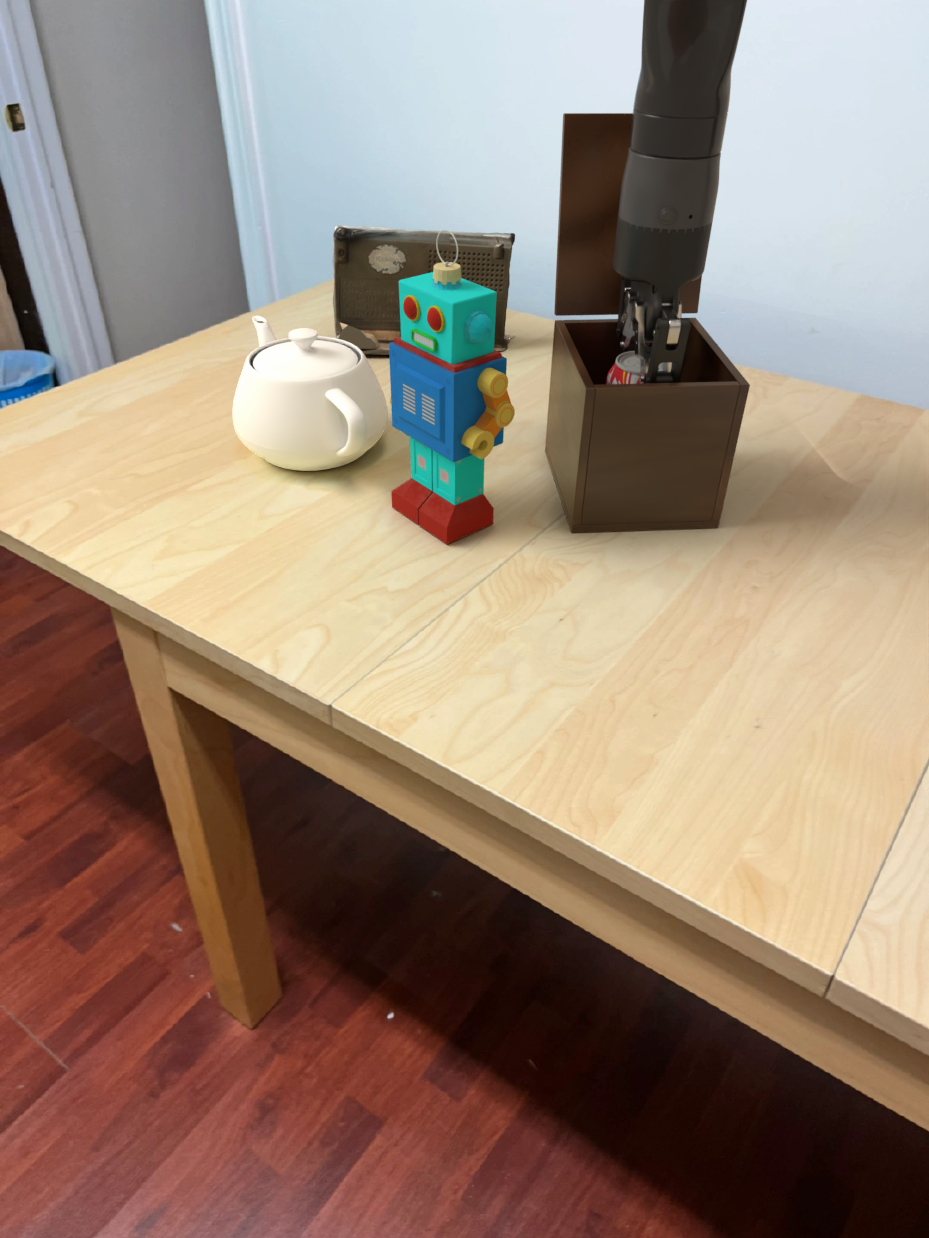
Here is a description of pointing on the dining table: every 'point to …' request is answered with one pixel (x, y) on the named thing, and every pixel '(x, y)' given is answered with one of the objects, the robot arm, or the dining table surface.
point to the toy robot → (447, 399)
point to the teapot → (307, 400)
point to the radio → (389, 255)
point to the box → (640, 433)
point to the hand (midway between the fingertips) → (638, 406)
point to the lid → (594, 216)
